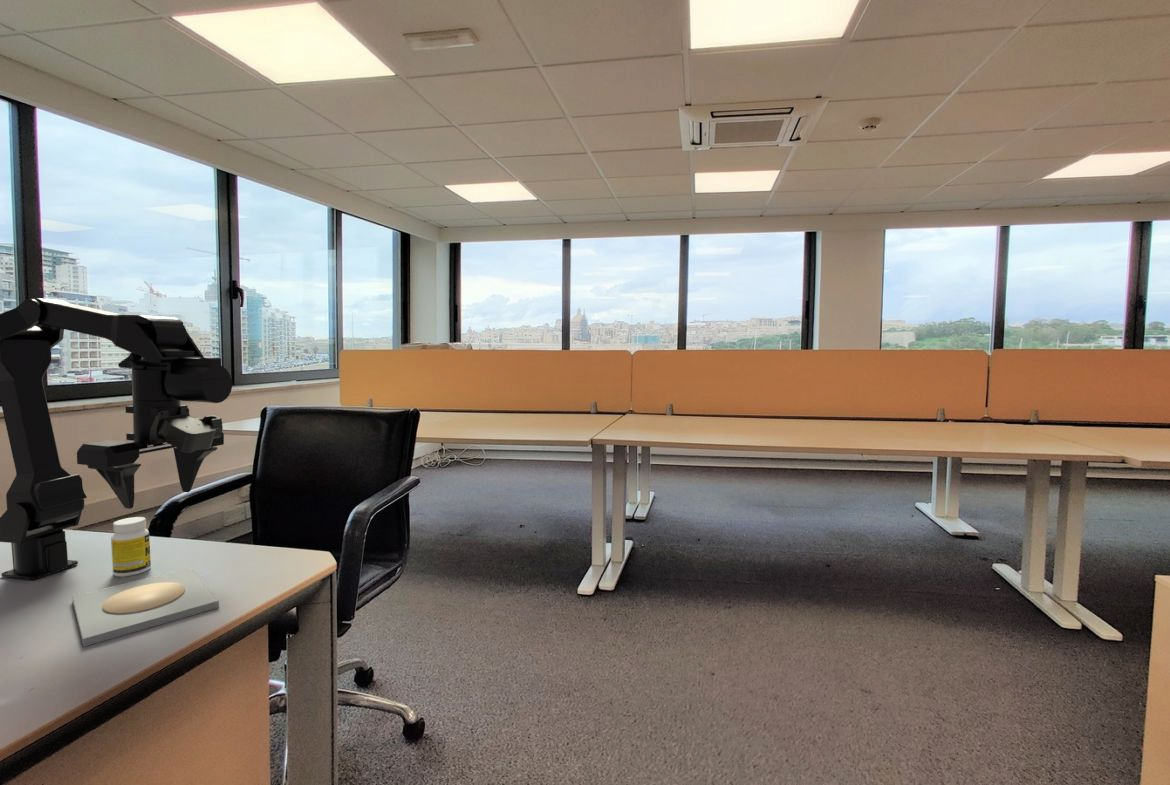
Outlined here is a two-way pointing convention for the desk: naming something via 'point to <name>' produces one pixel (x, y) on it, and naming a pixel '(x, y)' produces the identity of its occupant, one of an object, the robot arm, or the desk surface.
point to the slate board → (141, 605)
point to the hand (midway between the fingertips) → (159, 499)
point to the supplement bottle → (130, 547)
